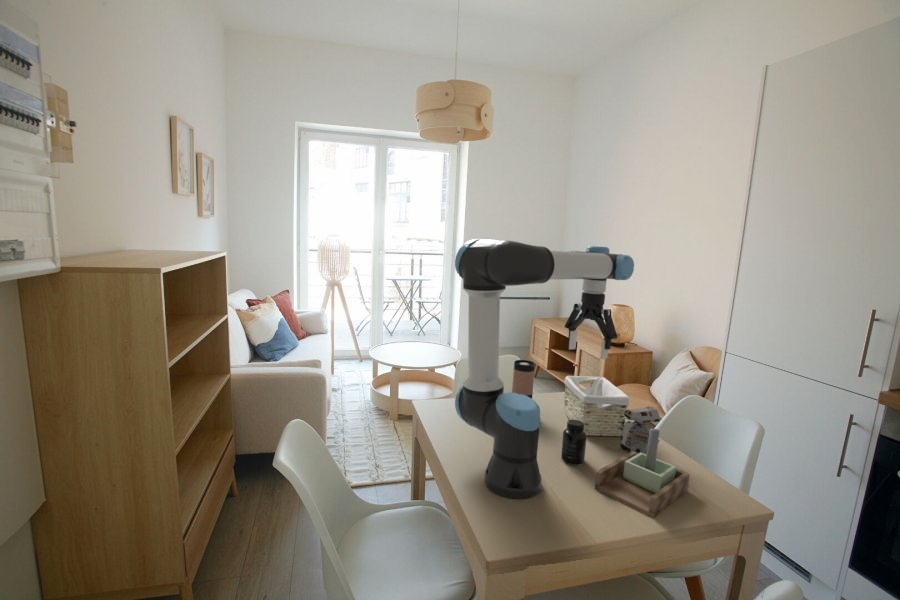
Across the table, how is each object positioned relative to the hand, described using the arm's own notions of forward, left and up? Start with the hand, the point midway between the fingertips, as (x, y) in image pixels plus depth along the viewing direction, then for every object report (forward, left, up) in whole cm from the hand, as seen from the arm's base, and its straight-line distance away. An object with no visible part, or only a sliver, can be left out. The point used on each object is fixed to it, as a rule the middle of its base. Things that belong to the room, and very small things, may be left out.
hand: (587, 353), depth 158 cm
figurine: (-1, -22, -28) cm, 35 cm away
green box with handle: (-17, -33, -26) cm, 45 cm away
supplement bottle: (-22, -12, -28) cm, 37 cm away
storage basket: (+8, 0, -28) cm, 29 cm away
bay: (-21, -33, -27) cm, 47 cm away
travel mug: (-7, +21, -28) cm, 36 cm away
